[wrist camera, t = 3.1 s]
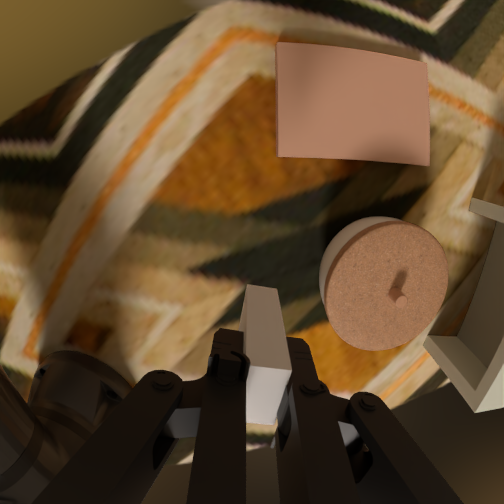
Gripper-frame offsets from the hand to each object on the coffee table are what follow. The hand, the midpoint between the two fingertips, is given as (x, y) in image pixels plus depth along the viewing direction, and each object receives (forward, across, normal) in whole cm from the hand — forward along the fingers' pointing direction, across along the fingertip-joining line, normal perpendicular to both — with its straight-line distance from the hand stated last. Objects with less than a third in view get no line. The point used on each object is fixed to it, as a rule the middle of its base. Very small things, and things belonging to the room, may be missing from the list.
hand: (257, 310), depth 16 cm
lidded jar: (+14, +11, 0) cm, 18 cm away
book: (+14, +7, +14) cm, 21 cm away
